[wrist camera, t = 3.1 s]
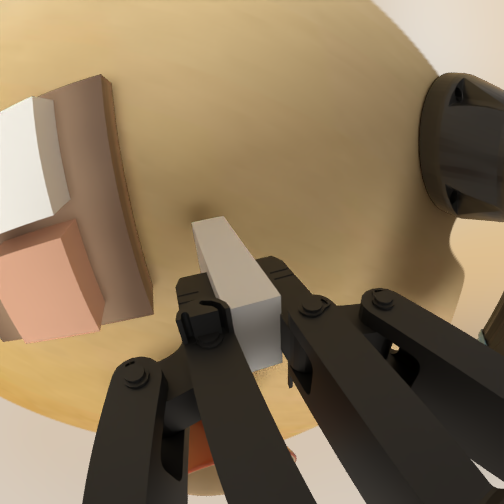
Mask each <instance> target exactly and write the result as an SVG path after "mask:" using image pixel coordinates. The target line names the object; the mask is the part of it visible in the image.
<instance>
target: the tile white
mask: <svg viewBox="0 0 504 504" xmlns="http://www.w3.org/2000/svg"><path fill="white" fill-rule="evenodd" d="M69 200H70V196H69V192H68V187H67V183H66V179H65V174H64V169H63V164H62V159H61V154H60V148H59V142H58V136H57V129H56V121H55V112H54V102H53V100H51V99H45V98H40V97H34V96H31V97H29V98H27V99H25V100H23V101H21V102H19V103H16V104H14V105H12V106H10V107H9V108H7V109H5V110H3V111H1V112H0V234H1V233H4V232H6V231H9V230H12V229H14V228H17V227H20V226H23V225H26V224H29V223H32V222H34V221H37V220H40V219H44V218H47V217H50V216H53V215H54V214H55V213H56V212H57V211H58V210H59V209H61V208H62V207H63V206H64V205H65V204H66V203H67V202H68V201H69Z"/></svg>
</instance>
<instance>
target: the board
mask: <svg viewBox="0 0 504 504" xmlns="http://www.w3.org/2000/svg"><path fill="white" fill-rule="evenodd" d="M38 97H40V98H45V99H51V100H53V102H54V112H55V121H56V129H57V136H58V142H59V148H60V154H61V159H62V164H63V169H64V174H65V179H66V183H67V187H68V192H69V196H70V200H69V201H68V202H67V203H66V204H65V205H64V206H63V207H62V208H61V209H59V210H58V211H57V212H56V213H55V214H54V215H53V216H50V217H47V218H44V219H40V220H37V221H34V222H32V223H29V224H26V225H23V226H20V227H17V228H14V229H12V230H9V231H6V232H4V233H1V234H0V245H1V244H2V243H3V242H4V241H7V240H9V239H12V238H15V237H18V236H21V235H24V234H27V233H30V232H33V231H36V230H39V229H42V228H45V227H48V226H52V225H55V224H58V223H62V222H65V221H68V220H72V219H75V218H76V222H77V225H78V228H79V232H80V235H81V238H82V241H83V244H84V247H85V250H86V253H87V256H88V259H89V262H90V264H91V267H92V270H93V273H94V275H95V278H96V280H97V283H98V286H99V288H100V290H101V293H102V295H103V298H104V300H105V306H104V311H103V317H102V322H101V325H105V324H110V323H115V322H120V321H125V320H129V319H134V318H139V317H144V316H148V315H153V314H154V312H153V286H152V283H151V280H150V276H149V273H148V270H147V266H146V263H145V259H144V256H143V252H142V249H141V245H140V241H139V237H138V233H137V229H136V225H135V221H134V217H133V213H132V209H131V204H130V200H129V195H128V191H127V186H126V181H125V176H124V171H123V165H122V160H121V154H120V148H119V142H118V135H117V128H116V121H115V113H114V104H113V95H112V84H111V83H110V82H109V81H108V80H107V79H106V78H105V77H103V76H102V75H101V74H100V75H97V76H93V77H90V78H87V79H84V80H80V81H77V82H74V83H72V84H69V85H66V86H63V87H60V88H58V89H55V90H52V91H50V92H47V93H45V94H43V95H40V96H38ZM0 338H1V340H2V341H3V342H5V341H12V340H19V339H23V338H22V337H21V335H20V334H19V332H18V330H17V329H16V327H15V325H14V324H13V322H12V320H11V318H10V317H9V315H8V313H7V311H6V309H5V308H4V306H3V304H2V302H1V300H0Z"/></svg>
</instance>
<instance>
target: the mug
mask: <svg viewBox="0 0 504 504" xmlns="http://www.w3.org/2000/svg"><path fill="white" fill-rule="evenodd" d="M287 448H288V447H287ZM288 450H289V452H290V454H291V456H292V458H293V460H294V462H296V455H295V454H294V453H293V452H292V451H291V450H290V449H289V448H288ZM188 494H189V495H197V496H213V495H223V494H224V491H223V489H222V486H221V483H220V480H219V477H218V474H217V471H216V468H215V464H214V461H213V458H212V455H211V452H210V448H209V445H208V442H207V438H206V435H205V431H204V427H203V424H202V420H200V421H198V422H197V423H195V424H193V425H191V426H190V432H189V456H188Z"/></svg>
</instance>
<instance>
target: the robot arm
mask: <svg viewBox="0 0 504 504" xmlns="http://www.w3.org/2000/svg"><path fill="white" fill-rule="evenodd" d="M419 148H420V163H421V170H422V175H423V180H424V183H425V187H426V190H427V192H428V194H429V196H430V198H431V200H432V201H433V203H434V204H435V205H436V206H437V207H438V208H439V209H441V210H443V211H445V212H447V213H449V214H451V215H453V216H455V217H459V218H463V219H476V220H487V221H498V222H504V90H502V89H500V88H499V87H497V86H495V85H493V84H491V83H489V82H487V81H485V80H482V79H480V78H478V77H476V76H474V75H471V74H466V73H445V74H443V75H441V76H440V77H438V78H437V79H436V80H435V82H434V83H433V85H432V86H431V88H430V90H429V92H428V94H427V97H426V100H425V103H424V107H423V112H422V117H421V124H420V139H419ZM191 224H192V229H193V235H194V240H195V245H196V251H197V256H198V261H199V266H200V271H201V273H200V274H196V275H192V276H187V277H183V278H180V279H179V281H178V283H177V285H176V293H177V299H178V304H179V311H178V312H177V315H176V323H177V326H178V329H179V332H180V335H181V338H182V341H183V342H182V344H181V346H180V347H179V349H178V350H177V351H176V352H175V353H173V354H172V355H170V356H169V357H167V358H165V359H163V360H161V361H159V362H156V361H154V360H153V359H151V358H147V357H135V358H131V359H129V360H127V361H125V362H123V363H122V364H121V365H120V366H118V367H117V368H116V370H115V372H114V374H113V376H112V379H111V382H110V385H109V388H108V392H107V395H106V399H105V402H104V406H103V409H102V413H101V417H100V421H99V424H98V428H97V432H96V437H95V441H94V445H93V450H92V454H91V459H90V463H89V468H88V474H87V479H86V485H85V491H84V496H83V503H82V504H187V503H188V502H187V501H188V456H189V432H190V426H191V425H193V424H195V423H197V422H198V421H200V420H202V424H203V427H204V431H205V435H206V438H207V442H208V445H209V448H210V452H211V455H212V458H213V461H214V464H215V468H216V471H217V474H218V477H219V480H220V483H221V486H222V489H223V491H224V494H225V497H226V500H227V502H228V504H317V503H316V501H315V499H314V498H313V496H312V494H311V492H310V490H309V488H308V486H307V485H306V483H305V481H304V479H303V477H302V475H301V473H300V471H299V469H298V468H297V466H296V464H295V462H294V460H293V458H292V456H291V454H290V452H289V450H288V448H287V446H286V444H285V442H284V440H283V438H282V436H281V434H280V432H279V430H278V427H277V425H276V423H275V421H274V419H273V417H272V415H271V413H270V411H269V409H268V407H267V404H266V402H265V400H264V398H263V396H262V394H261V391H260V389H259V387H258V385H257V383H256V380H255V378H254V376H253V374H252V372H254V371H257V370H260V369H264V368H267V367H270V366H273V365H276V364H279V363H282V352H283V354H284V355H285V357H286V359H287V360H288V385H289V388H292V387H293V382H294V383H295V385H296V387H297V389H298V390H299V392H300V394H301V396H302V397H303V399H304V401H305V403H306V404H307V406H308V408H309V410H310V411H311V413H312V415H313V416H314V418H315V420H316V422H317V423H318V425H319V427H320V428H321V430H322V432H323V433H324V435H325V437H326V438H327V440H328V442H329V444H330V445H331V447H332V449H333V450H334V452H335V453H336V455H337V457H338V458H339V460H340V462H341V463H342V465H343V467H344V468H345V470H346V472H347V473H348V475H349V476H350V478H351V480H352V481H353V483H354V485H355V486H356V487H357V489H358V491H359V493H360V494H361V496H362V497H363V499H364V500H365V502H366V504H504V489H498V488H496V487H493V486H492V485H491V484H490V483H489V482H488V480H487V479H486V478H485V477H484V475H483V474H482V473H481V472H480V470H479V469H478V468H477V467H476V465H475V464H474V463H473V462H472V461H471V459H472V460H473V461H474V462H476V463H477V464H479V465H480V466H482V467H483V468H484V469H486V470H487V471H489V472H490V473H492V474H493V475H495V476H496V477H498V478H499V479H501V480H502V481H504V292H503V294H502V296H501V298H500V300H499V302H498V304H497V306H496V308H495V310H494V311H493V313H492V315H491V317H490V319H489V320H488V322H487V324H486V325H485V327H484V329H481V331H480V332H479V338H478V339H477V340H476V339H475V338H473V337H472V336H470V335H468V334H467V333H465V332H463V331H462V330H460V329H458V328H457V327H455V326H453V325H451V324H450V323H448V322H446V321H445V320H443V319H441V318H440V317H438V316H436V315H434V314H433V313H431V312H429V311H428V310H426V309H424V308H422V307H421V306H419V305H417V304H415V303H414V302H412V301H410V300H408V299H406V298H405V297H403V296H401V295H399V294H398V293H396V292H394V291H391V290H389V289H383V288H376V289H371V290H368V291H366V292H365V293H364V294H363V295H362V299H361V304H354V305H344V306H336V305H335V304H334V303H333V302H332V301H331V300H329V299H328V298H326V297H323V296H320V295H312V294H311V293H310V291H309V290H308V289H307V288H306V287H305V286H304V285H303V284H302V282H301V281H300V280H299V279H298V278H297V277H296V276H295V275H294V273H293V272H292V271H291V270H290V269H289V268H288V267H287V265H286V264H285V263H284V262H283V261H282V260H280V259H278V258H275V257H273V256H269V257H265V258H260V259H256V260H255V259H254V258H253V256H252V255H251V253H250V252H249V251H248V249H247V248H246V246H245V245H244V244H243V242H242V241H241V240H240V238H239V237H238V235H237V234H236V233H235V231H234V230H233V228H232V227H231V226H230V224H229V223H228V221H227V220H226V219H225V217H224V216H220V217H215V218H210V219H205V220H200V221H196V222H191ZM392 343H394V344H395V345H397V346H398V347H399V350H393V349H391V346H392Z"/></svg>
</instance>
